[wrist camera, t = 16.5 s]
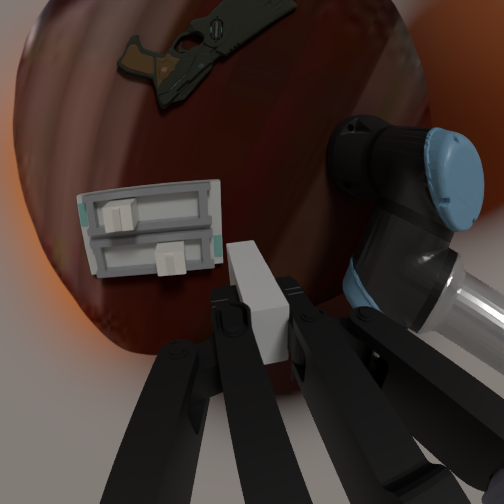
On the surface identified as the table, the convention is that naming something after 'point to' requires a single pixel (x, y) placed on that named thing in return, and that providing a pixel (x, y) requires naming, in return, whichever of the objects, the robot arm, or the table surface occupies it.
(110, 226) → the tab
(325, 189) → the table surface
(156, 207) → the switch plate
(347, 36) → the table surface
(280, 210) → the table surface
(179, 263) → the tab
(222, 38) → the firearm
